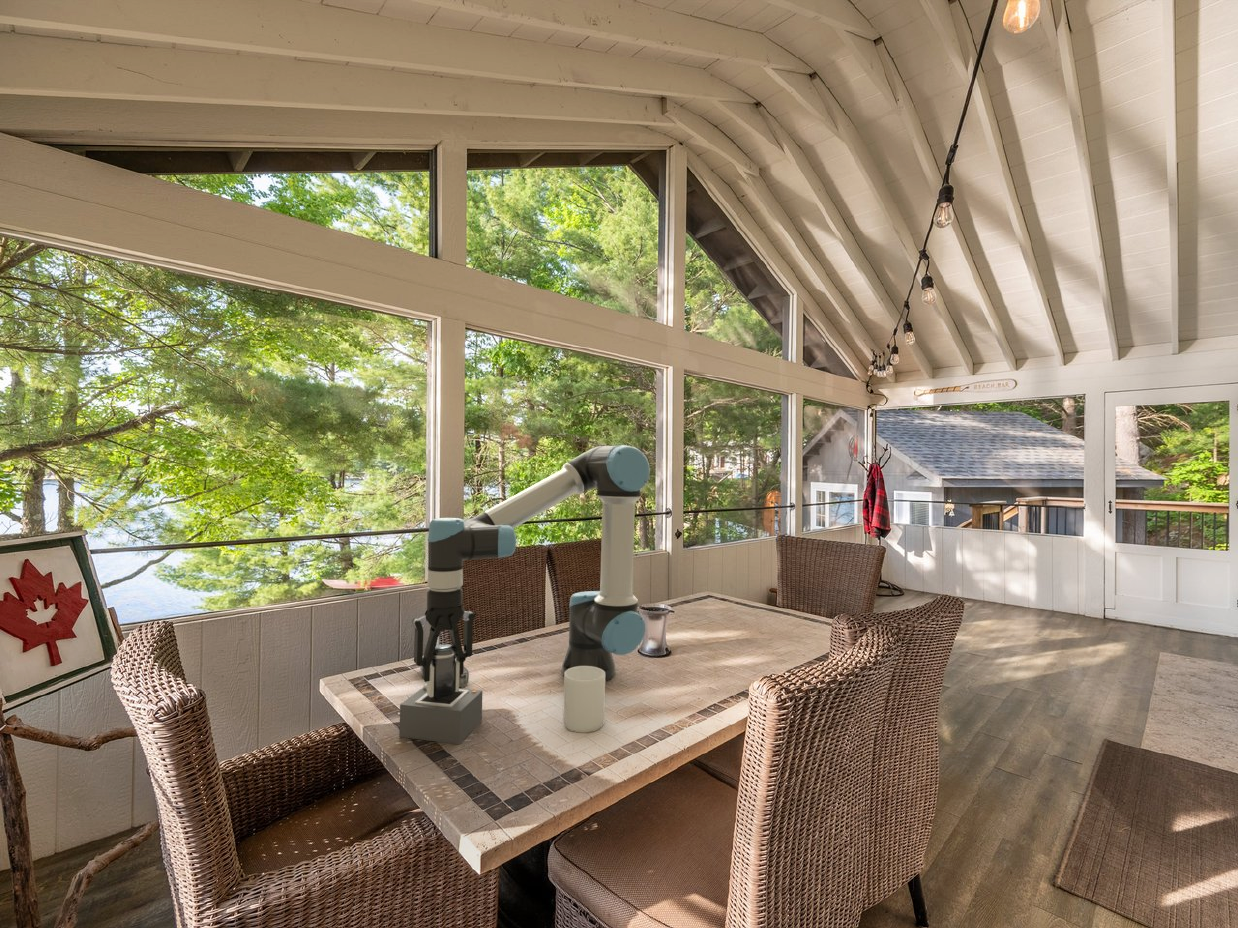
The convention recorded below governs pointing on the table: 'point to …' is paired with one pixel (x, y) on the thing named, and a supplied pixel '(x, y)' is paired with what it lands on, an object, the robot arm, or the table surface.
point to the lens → (444, 670)
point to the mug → (584, 698)
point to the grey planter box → (441, 716)
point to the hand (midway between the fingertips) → (442, 691)
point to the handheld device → (462, 678)
